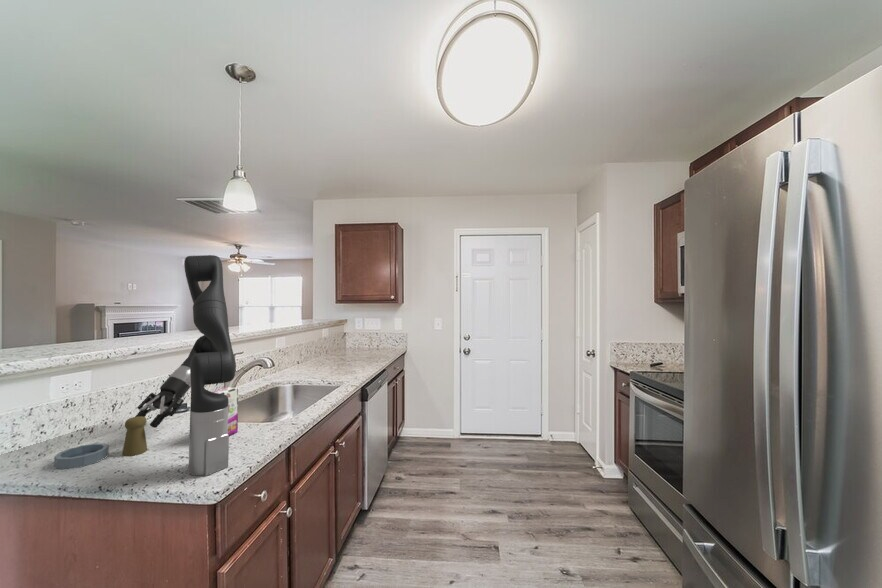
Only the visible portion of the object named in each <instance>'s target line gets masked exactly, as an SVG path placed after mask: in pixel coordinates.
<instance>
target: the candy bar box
mask: <svg viewBox="0 0 882 588" xmlns="http://www.w3.org/2000/svg"><path fill="white" fill-rule="evenodd" d="M212 392H213V393H219V394H224V395H226V396H227V397H228V400H229V401H228V434H229V437H230V436H233V435H234V434H236V433H237V432H238V428H239V427H238V426H239V425H238V424H239V423H238V422H239V420H238V418H239V411H238V410H239V388H238V387H230V386H227V387H224V388H220V389H218V390H215V391H212Z"/></svg>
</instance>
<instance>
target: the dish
mask: <svg viewBox="0 0 882 588" xmlns="http://www.w3.org/2000/svg"><path fill="white" fill-rule="evenodd" d="M109 450H110V449H109V444H107V443H105V442H104V443H103V442H100V443H99V442H97V443H89V444H88V443H87V444H81V445H79V446H74V447H69V448H67V449H65V450H62V451H60V452H58V453H56V455H54V458H53V460H54V462H53V467H54V468H55V467H56V469H57V470H70V469H69V468H71V469H75V468H74V467H76V468H81V467H80V466H82V467H85V465H86V466H89V465H92V464H96V463H98V462H100V461H102V460H104V459H106V458H107V457H108V456H109V454H110V453H109ZM107 455H108V456H107ZM106 456H107V457H106ZM105 457H106V458H105ZM103 458H104V459H103ZM101 459H102V460H101ZM99 460H100V461H99ZM97 461H98V462H97ZM95 462H96V463H95ZM88 464H89V465H88Z"/></svg>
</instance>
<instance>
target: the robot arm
mask: <svg viewBox="0 0 882 588" xmlns="http://www.w3.org/2000/svg"><path fill="white" fill-rule="evenodd" d="M183 267H184V273H185V277H186V283H187V285H188V290H189V293H190V296H191V299H192V303H193V305H192V317H193V324H194V326H195V327H196V328H197V330H198V332H199V333H201V334H202V335H201V336H199V337H198V338H197V339H196V340H195V342H194V344H193V346H192V348H191V351H189V354H188V356H187V358H186V359H185V360H184V361H183V362H182V363H181V364H180V365H179V367H177V368H176V369H175V370H174V371H173V372H172V373H171V374H170V376H168V377H167V379H166V380H165V381H164V382H163V383H162V384H161V385H160V387H159V390H160V392H159V393H157V394H155V393H153V392H151V393H149V395H147V397H145V399H143V401H142V402H141V403H140V404H139V405H138V406H137V409H138V410H139V412H138V413H137V414H136V415H135V416H134V417H138V416H143V417H145V418H146V416H147V414H149V413H151V412H152V411H157V410H159V413H157V415H156V416H155V417H154V418H153V419H152V420H151V422H150V423H149V426H150V427H151V428H154V429H157V427H159V425H160V424H161V423H162V422H163V420H164V419H165V418H168V417H173V416H174V415H175V414H176V412H177V411H178V409H179V408H180V407H181V406H182V404H183V403H184V401H185V400H184V399H183V396H185V394H186V393H187V392H188V391H189V389H190V405H189V406H190V410H189V441H188V474H189V475H192V476H205V477H207V476H209V475H211V474H214V473H216V472H218V471H222V470H223V469H226V468H228V467H229V447H230V446H229V445H230V444H229V443H230V436H229V434H228V401H229V400H228V397H227V396H226V395H224V394H219V393H213V392H214V391H210V390H208V389H206V388H205V386H210V385H216V384H217V385H218V384H225V383H230V382H231V381H234V380H233V379H234V378H235V377H236V376H235V375H236V361H235V355H234V351H233V348H232V347H233V345H232V342H231V337H230V336H231V335H230V331H229V330H230V329H229V319H228V317H229V316H228V309H227V302H226V296H225V291H224V272H223V263H222V260H221V258H220V257H219V256H217V255H214V254H213V255H211V254H209V255H206V254H205V255H188V256H186V257H185V259H184V266H183ZM199 282H200V283H201V282H209V284H208V285H207V286H206V288H205V289H204V290H203V291H202V289H201V287H200V283H199Z"/></svg>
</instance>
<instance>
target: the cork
mask: <svg viewBox="0 0 882 588" xmlns="http://www.w3.org/2000/svg"><path fill="white" fill-rule="evenodd" d="M147 421H148V420H147V418H146V416H145V417H143V416H138V417H135V416H134V417H133V416H132V417H129V418H128V419H126V421H125V423H124V428H125V430H126V431H125V432H126V433H125V439H124V443H123V447H122V453H121V456H122V457H124V456H129V457H135V455H136V456H139V455H142V454H144V453H146V452H147V451H148V445H147V437H146V432H145V427H146V425H147Z"/></svg>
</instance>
